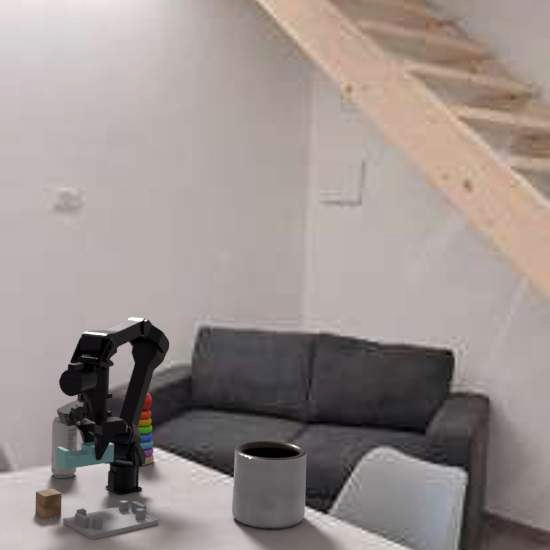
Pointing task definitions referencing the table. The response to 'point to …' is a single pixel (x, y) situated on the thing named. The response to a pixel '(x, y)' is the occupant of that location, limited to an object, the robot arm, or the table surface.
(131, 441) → the robot arm
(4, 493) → the table surface
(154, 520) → the jig
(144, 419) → the stacking toy
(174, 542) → the table surface
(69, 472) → the energy drink can
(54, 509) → the brown wooden cube
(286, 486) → the planter
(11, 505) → the table surface
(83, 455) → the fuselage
